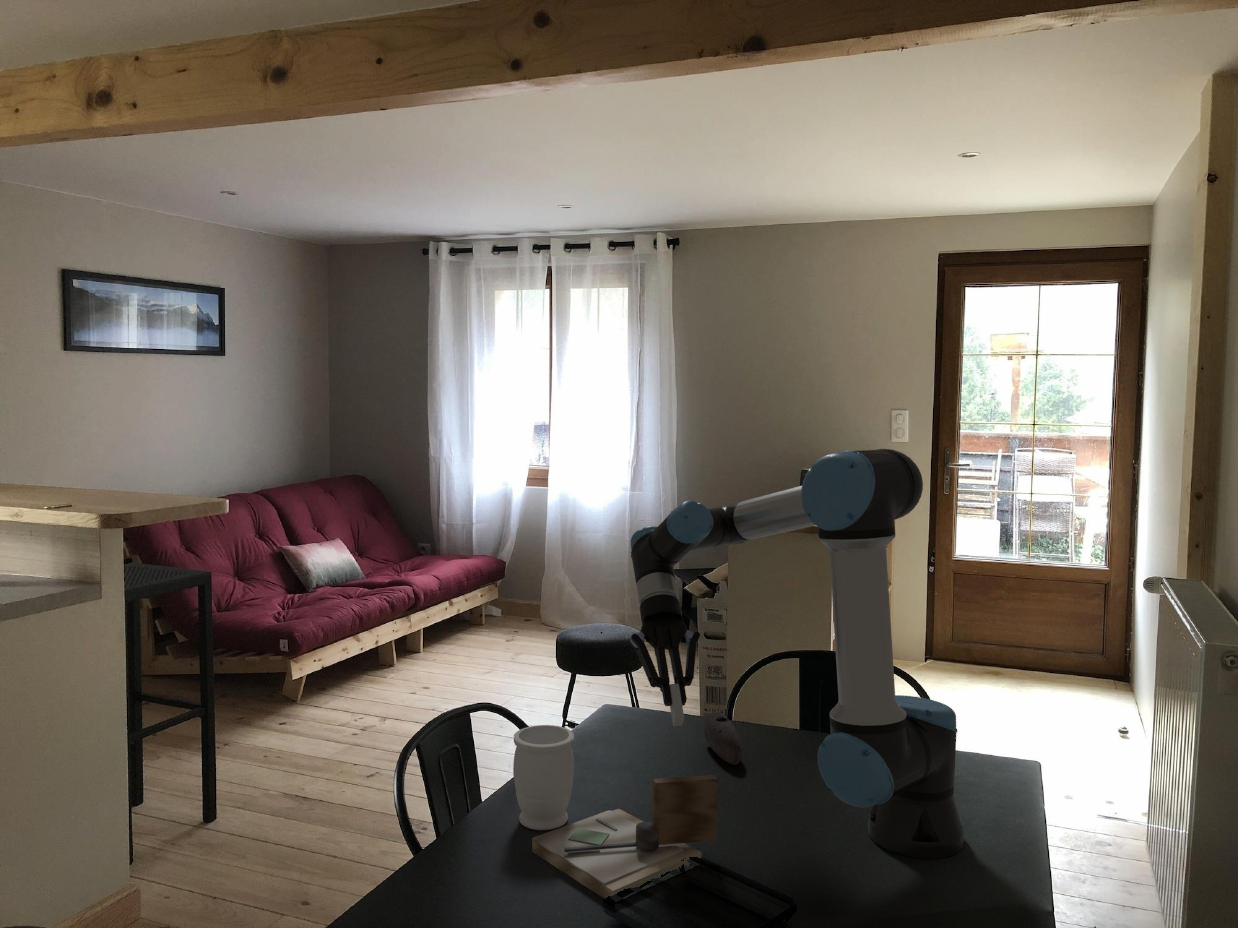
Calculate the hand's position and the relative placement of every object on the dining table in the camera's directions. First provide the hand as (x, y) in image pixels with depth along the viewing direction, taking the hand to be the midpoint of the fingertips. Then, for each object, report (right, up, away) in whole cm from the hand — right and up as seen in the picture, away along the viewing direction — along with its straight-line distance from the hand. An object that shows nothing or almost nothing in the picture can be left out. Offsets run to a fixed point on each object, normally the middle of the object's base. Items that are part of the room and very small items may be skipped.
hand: (678, 722), depth 162 cm
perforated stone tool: (+11, -15, +30) cm, 36 cm away
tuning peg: (-7, -16, -13) cm, 22 cm away
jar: (-23, -17, +1) cm, 29 cm away
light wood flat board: (-11, -18, -12) cm, 24 cm away
